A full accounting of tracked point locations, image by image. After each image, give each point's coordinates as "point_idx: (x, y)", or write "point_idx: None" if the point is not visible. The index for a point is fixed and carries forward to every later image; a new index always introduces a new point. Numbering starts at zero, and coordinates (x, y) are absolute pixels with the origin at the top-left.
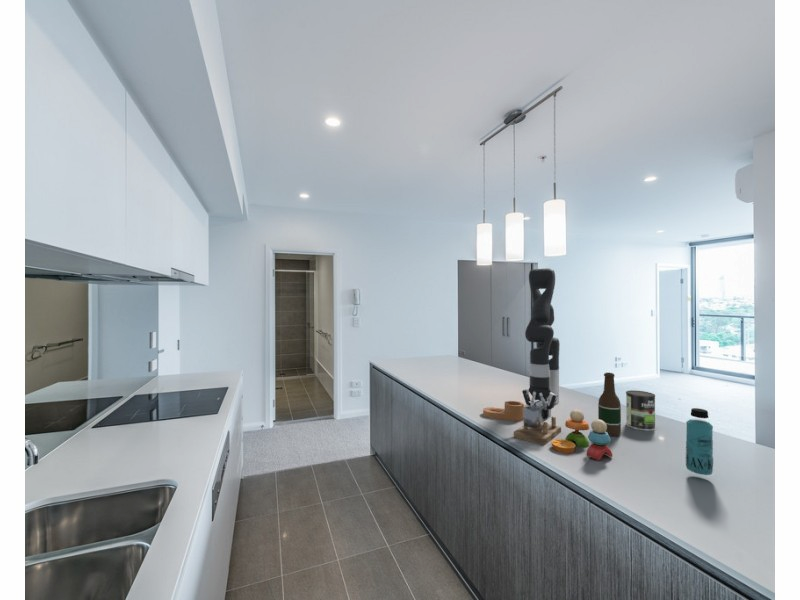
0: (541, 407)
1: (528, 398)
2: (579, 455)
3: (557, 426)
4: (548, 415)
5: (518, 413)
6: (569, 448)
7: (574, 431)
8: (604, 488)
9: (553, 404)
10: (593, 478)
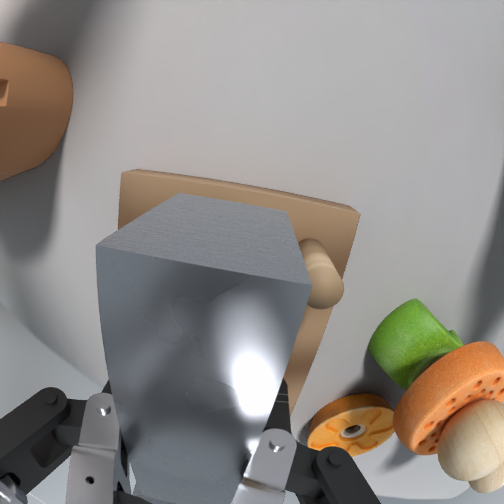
0: (229, 498)
1: (25, 435)
2: None
3: (334, 222)
4: (285, 394)
5: (20, 152)
6: (369, 449)
7: (430, 364)
8: (396, 490)
9: (351, 489)
10: (390, 482)
